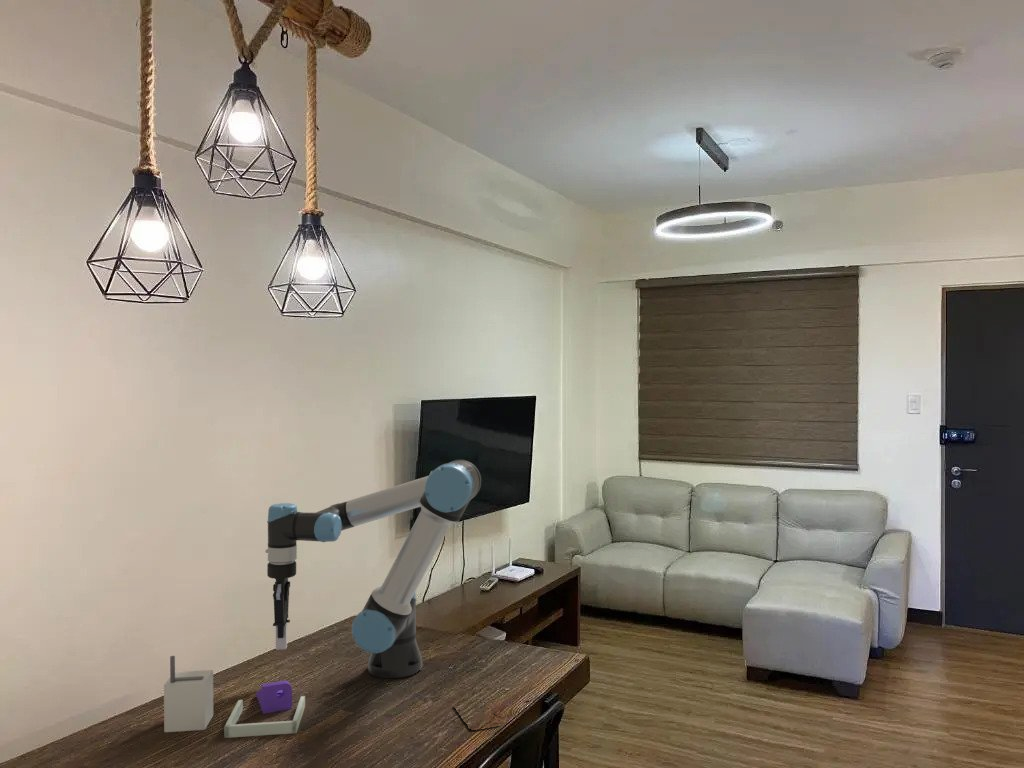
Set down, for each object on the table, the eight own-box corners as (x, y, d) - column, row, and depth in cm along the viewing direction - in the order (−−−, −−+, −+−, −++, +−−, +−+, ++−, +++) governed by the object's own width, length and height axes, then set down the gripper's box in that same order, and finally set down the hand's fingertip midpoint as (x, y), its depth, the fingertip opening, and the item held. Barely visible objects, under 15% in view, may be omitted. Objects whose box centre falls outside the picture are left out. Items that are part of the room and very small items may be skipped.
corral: (305, 706, 192) (305, 696, 192) (296, 733, 177) (296, 722, 177) (238, 710, 190) (238, 700, 190) (224, 737, 175) (224, 726, 175)
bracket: (291, 709, 191) (291, 682, 191) (263, 715, 188) (262, 687, 188) (283, 692, 201) (283, 666, 201) (256, 697, 198) (256, 670, 198)
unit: (213, 714, 187) (213, 644, 187) (204, 729, 179) (204, 656, 179) (175, 716, 186) (174, 646, 186) (164, 732, 178) (163, 659, 178)
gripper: (271, 556, 214) (271, 640, 214) (263, 567, 201) (262, 657, 201) (299, 555, 215) (298, 639, 215) (292, 566, 202) (291, 656, 202)
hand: (281, 648), depth 208 cm, fingers closed
